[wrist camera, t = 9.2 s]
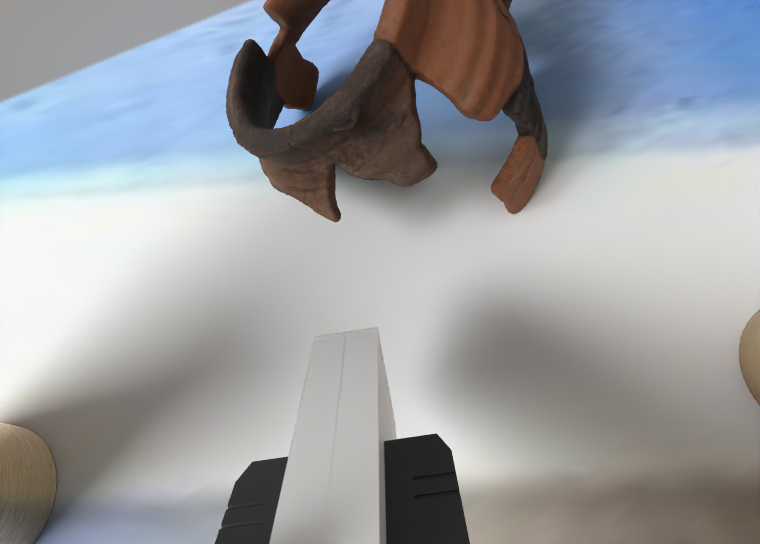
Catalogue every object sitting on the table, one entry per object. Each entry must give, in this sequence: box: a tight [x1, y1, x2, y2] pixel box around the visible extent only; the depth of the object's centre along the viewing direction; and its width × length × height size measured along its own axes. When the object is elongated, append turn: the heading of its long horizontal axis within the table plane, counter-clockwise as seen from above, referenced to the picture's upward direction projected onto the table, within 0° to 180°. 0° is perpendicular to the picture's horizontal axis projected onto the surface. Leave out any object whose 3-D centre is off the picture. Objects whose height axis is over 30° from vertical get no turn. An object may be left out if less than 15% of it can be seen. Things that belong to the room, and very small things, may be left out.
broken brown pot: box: [226, 0, 547, 222], centre depth 19 cm, size 12×10×8 cm
